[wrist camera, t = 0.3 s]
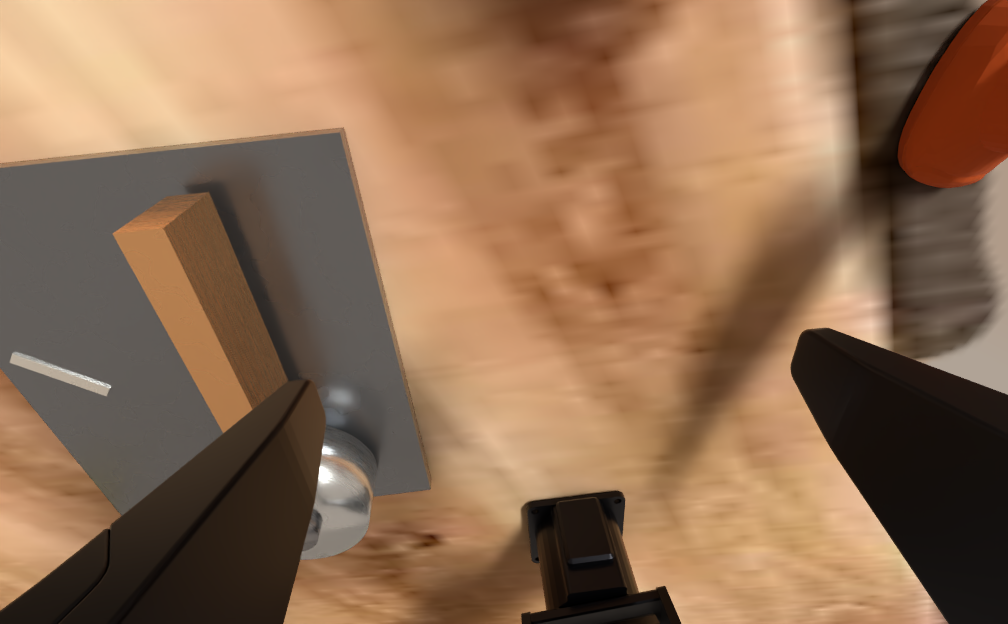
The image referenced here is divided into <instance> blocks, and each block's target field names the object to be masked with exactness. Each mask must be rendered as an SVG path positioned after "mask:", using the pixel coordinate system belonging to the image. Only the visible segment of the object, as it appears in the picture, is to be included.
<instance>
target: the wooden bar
mask: <svg viewBox="0 0 1008 624" xmlns="http://www.w3.org/2000/svg"><path fill="white" fill-rule="evenodd" d="M113 236H114V238H115V239H116V241H117V243H118V245H119V247H120V248H121V250H122V252H123V254H124V256H125V257H126V259H127V261H128V263H129V265H130V266H131V268H132V270H133V272H134V274H135V275H136V277H137V279H138V281H139V283H140V284H141V286H142V288H143V290H144V292H145V293H146V295H147V297H148V299H149V301H150V302H151V304H152V306H153V308H154V310H155V311H156V313H157V315H158V317H159V319H160V320H161V322H162V324H163V326H164V328H165V329H166V331H167V333H168V335H169V337H170V338H171V340H172V342H173V344H174V346H175V347H176V349H177V351H178V353H179V355H180V356H181V358H182V360H183V362H184V364H185V365H186V367H187V369H188V371H189V373H190V374H191V376H192V378H193V380H194V381H195V383H196V385H197V387H198V389H199V390H200V392H201V394H202V396H203V398H204V399H205V401H206V403H207V405H208V407H209V408H210V410H211V412H212V414H213V416H214V417H215V419H216V421H217V423H218V425H219V426H220V428H221V430H222V432H223V433H224V432H226V431H227V430H228V429H229V428H230V427H232V426H233V425H234V424H235V423H237V422H238V421H239V420H240V419H241V418H243V417H244V416H245V415H246V414H248V413H249V412H250V411H251V410H253V409H254V408H255V407H256V406H257V405H259V404H260V403H261V402H262V401H264V400H265V399H266V398H267V397H269V396H270V395H271V394H272V393H273V392H275V391H276V390H277V389H278V388H280V387H281V386H282V385H283V384H285V383H286V382H287V381H288V379H287V376H286V374H285V371H284V369H283V367H282V364H281V362H280V359H279V357H278V355H277V352H276V350H275V348H274V345H273V343H272V340H271V338H270V336H269V333H268V331H267V329H266V326H265V324H264V321H263V319H262V317H261V314H260V312H259V309H258V307H257V305H256V302H255V300H254V298H253V295H252V293H251V290H250V288H249V286H248V283H247V281H246V278H245V276H244V274H243V271H242V269H241V267H240V264H239V262H238V259H237V257H236V255H235V252H234V250H233V248H232V245H231V243H230V240H229V238H228V236H227V233H226V231H225V228H224V226H223V224H222V221H221V219H220V217H219V214H218V212H217V209H216V207H215V205H214V202H213V200H212V197H211V195H210V193H209V192H204V193H194V194H185V195H176V196H166V197H165V198H164V199H162V200H161V201H159V202H158V203H156V204H155V205H153V206H152V207H150V208H149V209H148V210H146V211H145V212H143V213H142V214H140V215H139V216H137V217H136V218H134V219H133V220H132V221H130V222H129V223H127V224H126V225H124V226H123V227H121V228H120V229H118V230H117V231H116V232H114V233H113ZM376 476H377V464H376V460H375V458H374V456H373V454H372V453H371V451H370V450H369V449H368V447H367V446H366V445H365V444H364V443H362V442H361V441H360V440H359V439H357V438H356V437H354V436H353V435H351V434H349V433H347V432H345V431H342V430H340V429H337V428H333V427H330V426H326V428H325V435H324V442H323V449H322V456H321V463H320V470H319V478H318V485H317V491H316V497H315V503H314V507H313V512H312V516H311V520H310V523H309V527H308V531H307V535H306V539H305V543H304V546H303V550H302V554H301V558H300V560H309V559H319V558H325V557H329V556H333V555H336V554H339V553H342V552H344V551H346V550H348V549H350V548H351V547H353V546H354V545H356V544H357V543H358V542H359V541H360V540H361V539H362V538H363V537H364V535H365V534H366V532H367V529H368V525H369V519H370V513H371V507H372V501H373V495H374V489H375V483H376Z"/></svg>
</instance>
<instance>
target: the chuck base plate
mask: <svg viewBox="0 0 1008 624" xmlns="http://www.w3.org/2000/svg"><path fill="white" fill-rule="evenodd" d="M204 192H209V193H210V195H211V197H212V200H213V202H214V205H215V207H216V209H217V212H218V214H219V217H220V219H221V221H222V224H223V226H224V228H225V231H226V233H227V236H228V238H229V240H230V243H231V245H232V248H233V250H234V252H235V255H236V257H237V259H238V262H239V264H240V267H241V269H242V271H243V274H244V276H245V278H246V281H247V283H248V286H249V288H250V290H251V293H252V295H253V298H254V300H255V302H256V305H257V307H258V309H259V312H260V314H261V317H262V319H263V321H264V324H265V326H266V329H267V331H268V333H269V336H270V338H271V340H272V343H273V345H274V348H275V350H276V352H277V355H278V357H279V359H280V362H281V364H282V367H283V369H284V371H285V374H286V376H287V379H288V381H290V380H299V379H311V380H313V382H314V383H315V385H316V388H317V391H318V394H319V396H320V399H321V402H322V405H323V408H324V411H325V416H326V426H330V427H333V428H337V429H340V430H342V431H345V432H347V433H349V434H351V435H353V436H354V437H356V438H357V439H359V440H360V441H361V442H362V443H364V444H365V445H366V446H367V447H368V449H369V450H370V451H371V453H372V454H373V456H374V458H375V460H376V464H377V476H376V483H375V489H374V495H373V497H374V496H382V495H390V494H398V493H406V492H414V491H422V490H430V489H431V476H430V472H429V468H428V464H427V460H426V456H425V452H424V448H423V444H422V440H421V436H420V432H419V428H418V424H417V420H416V416H415V412H414V408H413V404H412V400H411V396H410V391H409V387H408V383H407V379H406V375H405V371H404V367H403V363H402V359H401V355H400V351H399V347H398V343H397V339H396V335H395V331H394V327H393V323H392V319H391V315H390V311H389V307H388V303H387V299H386V295H385V291H384V287H383V283H382V279H381V275H380V271H379V267H378V263H377V259H376V255H375V251H374V247H373V243H372V239H371V235H370V230H369V226H368V222H367V218H366V214H365V210H364V206H363V202H362V198H361V194H360V190H359V186H358V182H357V178H356V174H355V170H354V166H353V162H352V158H351V154H350V150H349V146H348V142H347V138H346V134H345V130H344V128H336V129H326V130H316V131H307V132H297V133H288V134H278V135H269V136H259V137H249V138H240V139H230V140H221V141H211V142H202V143H192V144H182V145H173V146H163V147H154V148H144V149H135V150H125V151H115V152H106V153H96V154H87V155H77V156H68V157H58V158H48V159H39V160H29V161H20V162H10V163H0V368H1V369H2V371H3V372H4V373H5V374H6V375H7V377H8V378H9V379H10V380H11V382H12V383H13V384H14V385H15V386H16V388H17V389H18V390H19V391H20V393H21V394H22V395H23V396H24V397H25V399H26V400H27V401H28V402H29V403H30V405H31V406H32V407H33V408H34V410H35V411H36V412H37V413H38V414H39V416H40V417H41V418H42V419H43V421H44V422H45V423H46V424H47V425H48V427H49V428H50V429H51V430H52V431H53V433H54V434H55V435H56V436H57V438H58V439H59V440H60V441H61V442H62V444H63V445H64V446H65V447H66V449H67V450H68V451H69V452H70V453H71V455H72V456H73V457H74V458H75V459H76V461H77V462H78V463H79V464H80V466H81V467H82V468H83V469H84V470H85V472H86V473H87V474H88V475H89V477H90V478H91V479H92V480H93V481H94V483H95V484H96V485H97V486H98V487H99V489H100V490H101V491H102V492H103V494H104V495H105V496H106V497H107V498H108V500H109V501H110V502H111V503H112V505H113V506H114V507H115V508H116V509H117V511H118V512H119V513H120V514H121V515H123V514H125V513H126V512H127V511H128V510H129V509H131V508H132V507H133V506H134V505H136V504H137V503H138V502H139V501H141V500H142V499H143V498H144V497H146V496H147V495H148V494H149V493H150V492H152V491H153V490H154V489H155V488H157V487H158V486H159V485H160V484H162V483H163V482H164V481H165V480H166V479H168V478H169V477H170V476H171V475H173V474H174V473H175V472H176V471H178V470H179V469H180V468H181V467H182V466H184V465H185V464H186V463H187V462H189V461H190V460H191V459H192V458H194V457H195V456H196V455H197V454H198V453H200V452H201V451H202V450H203V449H205V448H206V447H207V446H208V445H210V444H211V443H212V442H213V441H214V440H216V439H217V438H218V437H219V436H221V435H222V434H223V432H222V430H221V428H220V426H219V425H218V423H217V421H216V419H215V417H214V416H213V414H212V412H211V410H210V408H209V407H208V405H207V403H206V401H205V399H204V398H203V396H202V394H201V392H200V390H199V389H198V387H197V385H196V383H195V381H194V380H193V378H192V376H191V374H190V373H189V371H188V369H187V367H186V365H185V364H184V362H183V360H182V358H181V356H180V355H179V353H178V351H177V349H176V347H175V346H174V344H173V342H172V340H171V338H170V337H169V335H168V333H167V331H166V329H165V328H164V326H163V324H162V322H161V320H160V319H159V317H158V315H157V313H156V311H155V310H154V308H153V306H152V304H151V302H150V301H149V299H148V297H147V295H146V293H145V292H144V290H143V288H142V286H141V284H140V283H139V281H138V279H137V277H136V275H135V274H134V272H133V270H132V268H131V266H130V265H129V263H128V261H127V259H126V257H125V256H124V254H123V252H122V250H121V248H120V247H119V245H118V243H117V241H116V239H115V238H114V236H113V233H114V232H116V231H117V230H118V229H120V228H121V227H123V226H124V225H126V224H127V223H129V222H130V221H132V220H133V219H134V218H136V217H137V216H139V215H140V214H142V213H143V212H145V211H146V210H148V209H149V208H150V207H152V206H153V205H155V204H156V203H158V202H159V201H161V200H162V199H164V198H165V197H166V196H176V195H185V194H194V193H204Z"/></svg>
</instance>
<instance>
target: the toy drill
mask: <svg viewBox="0 0 1008 624" xmlns="http://www.w3.org/2000/svg"><path fill="white" fill-rule="evenodd" d="M897 157H898V161H899V164H900V166H901V167H902V169H903V170H904V171H905V172H906V173H907V174H908V175H909V177H911V178H912V179H914V180H916V181H918V182H921V183H924V184H926V185H930V186H934V187H939V188H952V187H961V186H965V185H969V184H972V183H975V182H977V181H979V180H981V179H982V178H983V177H984V176H985V174H987V173H989V172H990V171H991V170H993V169H994V168H995V167H996V166H997V165H999V164H1000V163H1001V162H1002V161H1004V160H1005V159H1006V158H1007V157H1008V0H988V1H986V2H985V3H984V4H983V5H981V7H980V8H979V9H978V10H977V11H976V12H975V13H974V14H973V15H972V17H971V18H970V19H969V20H968V21H967V22H966V23H965V25H964V26H963V27H962V29H961V30H960V31H959V33H958V34H957V35H956V37H955V38H954V39H953V41H952V42H951V44H950V45H949V47H948V48H947V50H946V51H945V53H944V55H943V56H942V58H941V59H940V61H939V62H938V64H937V65H936V67H935V68H934V70H933V72H932V73H931V75H930V77H929V79H928V80H927V82H926V84H925V86H924V88H923V89H922V91H921V93H920V95H919V97H918V99H917V101H916V103H915V105H914V107H913V108H912V110H911V112H910V115H909V117H908V119H907V121H906V123H905V126H904V128H903V131H902V134H901V138H900V141H899V146H898V156H897Z"/></svg>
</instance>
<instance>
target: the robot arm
mask: <svg viewBox="0 0 1008 624" xmlns="http://www.w3.org/2000/svg"><path fill="white" fill-rule="evenodd" d="M791 374H792V377H793V380H794V381H795V383H796V385H797V387H798V389H799V391H800V393H801V395H802V397H803V398H804V400H805V402H806V404H807V406H808V408H809V410H810V412H811V413H812V415H813V417H814V419H815V421H816V423H817V425H818V427H819V428H820V430H821V432H822V434H823V436H824V438H825V439H826V441H827V443H828V445H829V446H830V448H831V450H832V451H833V453H834V454H835V456H836V457H837V459H838V460H839V462H840V463H841V465H842V466H843V468H844V469H845V471H846V472H847V474H848V475H849V477H850V478H851V480H852V481H853V483H854V484H855V486H856V487H857V489H858V490H859V492H860V493H861V495H862V496H863V498H864V499H865V500H866V502H867V503H868V505H869V506H870V508H871V509H872V511H873V512H874V514H875V515H876V517H877V518H878V520H879V521H880V523H881V524H882V526H883V527H884V529H885V530H886V532H887V533H888V535H889V536H890V538H891V539H892V541H893V542H894V544H895V545H896V546H897V548H898V549H899V551H900V552H901V554H902V555H903V557H904V558H905V560H906V561H907V563H908V564H909V566H910V567H911V569H912V570H913V572H914V573H915V575H916V576H917V578H918V579H919V581H920V582H921V584H922V585H923V587H924V588H925V590H926V591H927V592H928V594H929V595H930V597H931V598H932V600H933V601H934V603H935V604H936V606H937V607H938V609H939V610H940V612H941V613H942V615H943V616H944V618H945V619H946V621H947V622H948V624H1008V395H1007V394H1004V393H1001V392H999V391H996V390H993V389H991V388H988V387H985V386H983V385H980V384H977V383H975V382H972V381H969V380H967V379H964V378H961V377H959V376H956V375H953V374H950V373H948V372H945V371H942V370H940V369H937V368H934V367H931V366H929V365H926V364H924V363H921V362H918V361H916V360H913V359H910V358H908V357H905V356H902V355H900V354H897V353H894V352H892V351H889V350H886V349H884V348H881V347H878V346H876V345H873V344H870V343H868V342H865V341H862V340H860V339H857V338H854V337H851V336H849V335H846V334H843V333H841V332H838V331H835V330H833V329H830V328H817V329H807V330H805V331H803V332H802V333H801V335H800V337H799V340H798V343H797V346H796V349H795V353H794V356H793V359H792V362H791ZM325 428H326V416H325V411H324V408H323V405H322V402H321V399H320V396H319V394H318V391H317V388H316V385H315V383H314V382H313V380H311V379H299V380H290V381H287V382H286V383H285V384H283V385H282V386H281V387H280V388H278V389H277V390H276V391H275V392H273V393H272V394H271V395H270V396H269V397H267V398H266V399H265V400H264V401H262V402H261V403H260V404H259V405H257V406H256V407H255V408H254V409H253V410H251V411H250V412H249V413H248V414H246V415H245V416H244V417H243V418H241V419H240V420H239V421H238V422H237V423H235V424H234V425H233V426H232V427H230V428H229V429H228V430H227V431H226V432H224V433H223V434H222V435H221V436H219V437H218V438H217V439H216V440H214V441H213V442H212V443H211V444H210V445H208V446H207V447H206V448H205V449H203V450H202V451H201V452H200V453H198V454H197V455H196V456H195V457H194V458H192V459H191V460H190V461H189V462H187V463H186V464H185V465H184V466H182V467H181V468H180V469H179V470H178V471H176V472H175V473H174V474H173V475H171V476H170V477H169V478H168V479H166V480H165V481H164V482H163V483H162V484H160V485H159V486H158V487H157V488H155V489H154V490H153V491H152V492H150V493H149V494H148V495H147V496H146V497H144V498H143V499H142V500H141V501H139V502H138V503H137V504H136V505H134V506H133V507H132V508H131V509H129V510H128V511H127V512H126V513H125V514H123V515H122V516H121V517H120V518H118V519H117V520H116V521H115V522H113V523H112V524H111V526H110V529H105V530H103V531H102V532H101V533H100V534H99V535H97V536H96V537H95V538H94V539H92V540H91V541H90V542H89V543H88V544H86V545H85V546H84V547H83V548H81V549H80V550H79V551H78V552H76V553H75V554H74V555H73V556H71V557H70V558H69V559H67V560H66V561H65V562H64V563H62V564H61V565H60V566H59V567H57V568H56V569H55V570H54V571H52V572H51V573H50V574H48V575H47V576H46V577H45V578H43V579H42V580H41V581H40V582H38V583H37V584H36V585H34V586H33V587H32V588H30V589H29V590H28V591H26V592H25V593H24V594H22V595H21V596H20V597H18V598H17V599H16V600H14V601H13V602H11V603H10V604H9V605H7V606H6V607H5V608H3V609H2V610H1V611H0V624H283V622H284V619H285V615H286V611H287V607H288V603H289V600H290V596H291V592H292V588H293V584H294V581H295V577H296V573H297V569H298V565H299V562H300V558H301V554H302V550H303V546H304V543H305V539H306V535H307V531H308V527H309V523H310V520H311V516H312V512H313V507H314V503H315V497H316V491H317V485H318V478H319V470H320V463H321V456H322V449H323V442H324V435H325ZM624 509H625V498H624V495H623V493H622V492H620V491H615V492H607V493H599V494H591V495H583V496H575V497H567V498H560V499H552V500H544V501H536V502H531V503H529V504H528V505H527V516H528V527H529V538H530V549H531V558H532V561H533V562H534V563H540V570H541V577H542V583H543V590H544V597H545V603H546V611H541V612H536V613H530V612H527V613H522V614H521V617H522V624H681V622H680V619H679V617H678V615H677V612H676V610H675V608H674V605H673V603H672V601H671V598H670V596H669V594H668V592H667V589H666V587H665V586H662V587H657V588H656V590H650V591H645V592H640V593H639V591H638V588H637V584H636V581H635V578H634V575H633V571H632V568H631V565H630V562H629V559H628V555H627V552H626V549H625V546H624V542H623V539H622V534H623V522H624Z"/></svg>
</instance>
